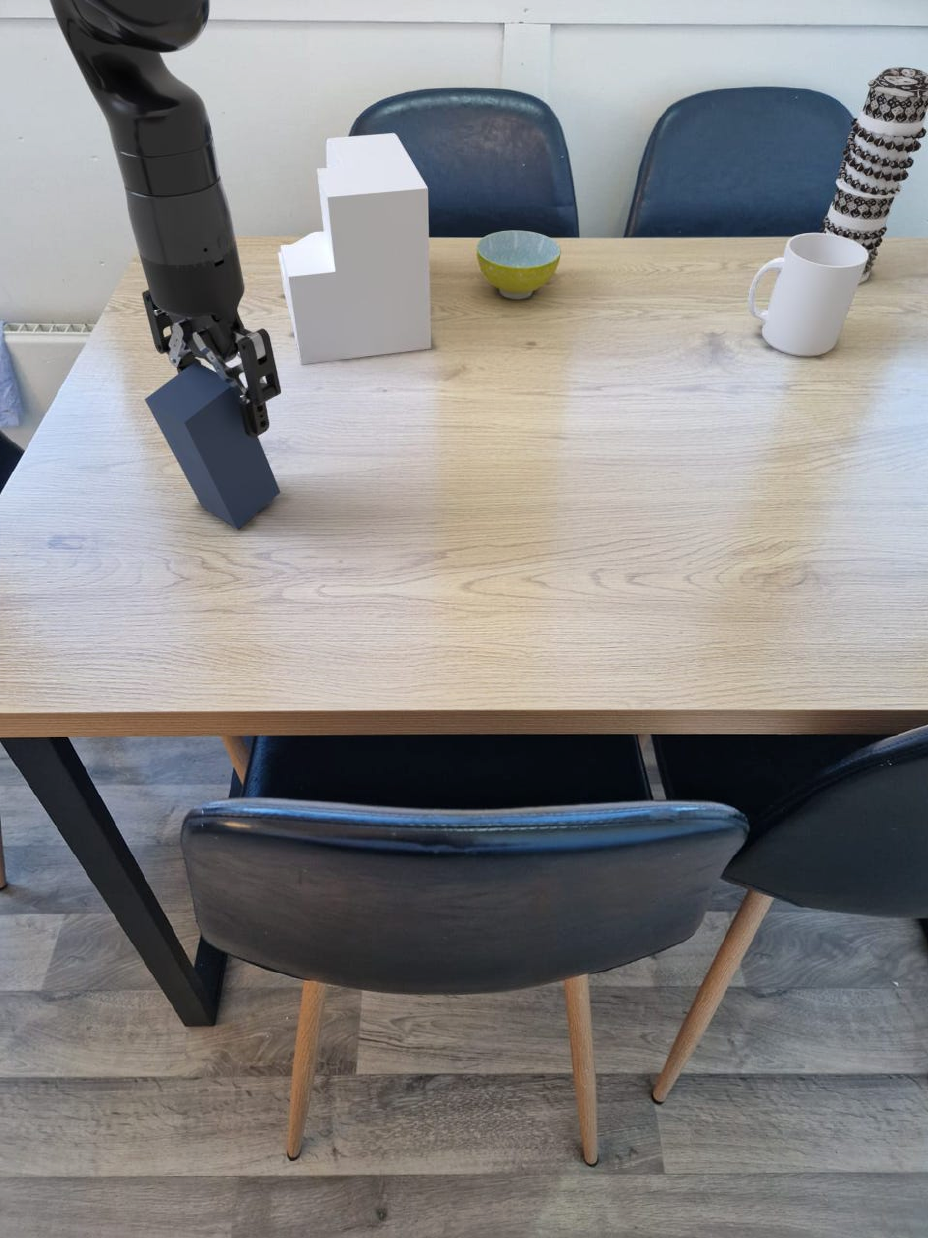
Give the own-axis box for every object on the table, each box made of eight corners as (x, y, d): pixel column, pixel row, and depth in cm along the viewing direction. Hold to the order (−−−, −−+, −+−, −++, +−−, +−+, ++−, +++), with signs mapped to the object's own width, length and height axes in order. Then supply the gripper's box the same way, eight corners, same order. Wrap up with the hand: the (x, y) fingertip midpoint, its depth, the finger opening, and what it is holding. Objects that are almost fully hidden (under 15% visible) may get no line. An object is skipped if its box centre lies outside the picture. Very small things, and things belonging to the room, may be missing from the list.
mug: (845, 358, 105) (881, 266, 96) (752, 359, 105) (779, 268, 96) (820, 321, 111) (851, 232, 103) (732, 322, 111) (755, 233, 102)
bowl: (572, 287, 117) (577, 243, 113) (528, 320, 111) (531, 274, 106) (505, 265, 121) (507, 222, 117) (459, 295, 115) (459, 251, 111)
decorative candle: (857, 292, 117) (933, 88, 99) (795, 272, 121) (857, 73, 103) (881, 269, 122) (957, 71, 104) (820, 251, 126) (884, 57, 107)
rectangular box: (184, 422, 70) (236, 381, 73) (144, 399, 73) (196, 360, 75) (237, 530, 82) (281, 491, 84) (201, 507, 84) (245, 470, 87)
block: (279, 273, 119) (256, 123, 105) (392, 262, 122) (384, 114, 108) (301, 364, 103) (277, 201, 88) (431, 348, 106) (427, 187, 91)
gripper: (91, 230, 66) (146, 405, 78) (207, 284, 61) (247, 465, 73) (168, 201, 70) (209, 372, 82) (284, 249, 65) (310, 426, 76)
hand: (227, 415), depth 77 cm, fingers open, 8 cm apart
